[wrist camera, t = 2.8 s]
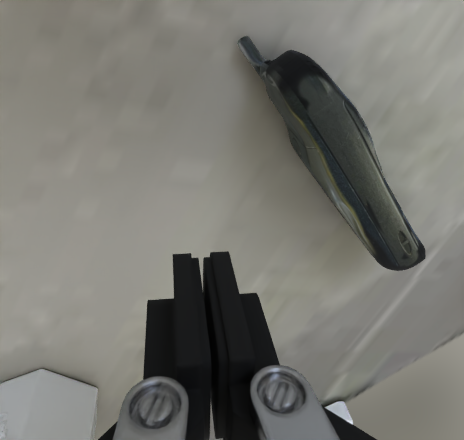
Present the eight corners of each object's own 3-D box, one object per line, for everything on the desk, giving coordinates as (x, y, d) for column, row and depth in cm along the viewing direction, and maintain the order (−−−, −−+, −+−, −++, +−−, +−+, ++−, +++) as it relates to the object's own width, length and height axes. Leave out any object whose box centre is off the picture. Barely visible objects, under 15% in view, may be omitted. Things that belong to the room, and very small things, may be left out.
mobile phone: (442, 258, 21) (312, 18, 14) (394, 288, 22) (243, 74, 14) (395, 212, 25) (275, 7, 18) (356, 238, 26) (223, 51, 18)
